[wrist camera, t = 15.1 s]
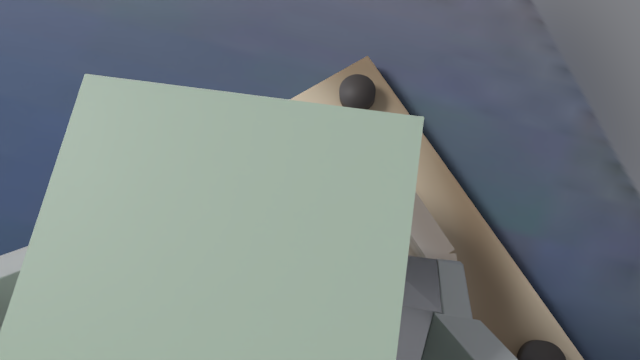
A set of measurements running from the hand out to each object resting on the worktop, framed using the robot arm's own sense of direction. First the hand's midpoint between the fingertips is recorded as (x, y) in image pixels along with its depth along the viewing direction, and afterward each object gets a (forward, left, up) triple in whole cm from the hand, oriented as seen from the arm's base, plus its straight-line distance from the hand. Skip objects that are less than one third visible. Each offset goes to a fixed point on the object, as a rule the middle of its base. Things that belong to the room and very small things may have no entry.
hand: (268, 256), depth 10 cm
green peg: (0, 0, -8) cm, 8 cm away
